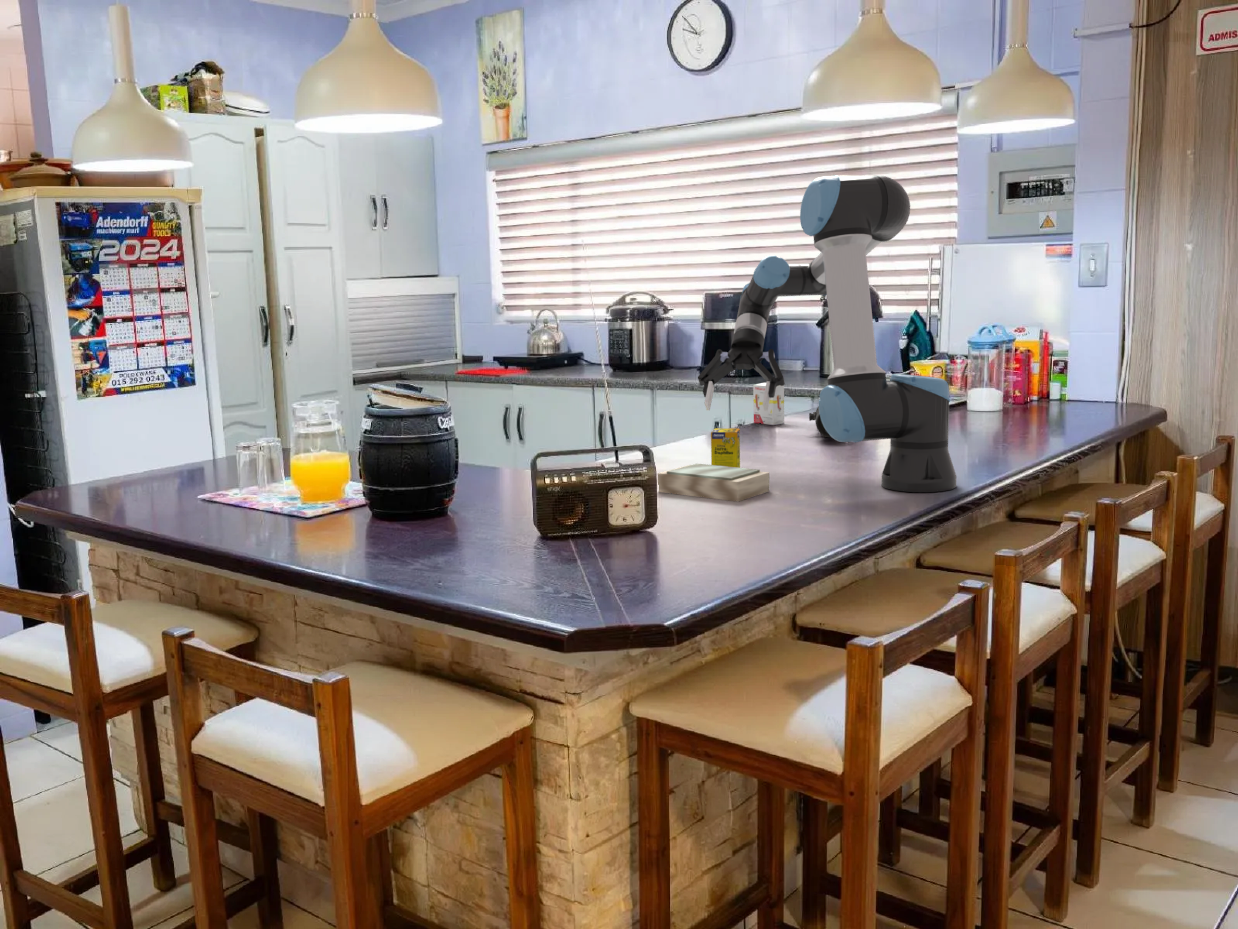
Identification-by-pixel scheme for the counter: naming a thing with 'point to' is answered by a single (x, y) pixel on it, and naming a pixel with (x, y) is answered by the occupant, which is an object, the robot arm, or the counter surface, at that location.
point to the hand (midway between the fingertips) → (735, 407)
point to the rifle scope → (818, 423)
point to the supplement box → (725, 447)
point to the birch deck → (714, 482)
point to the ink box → (774, 409)
